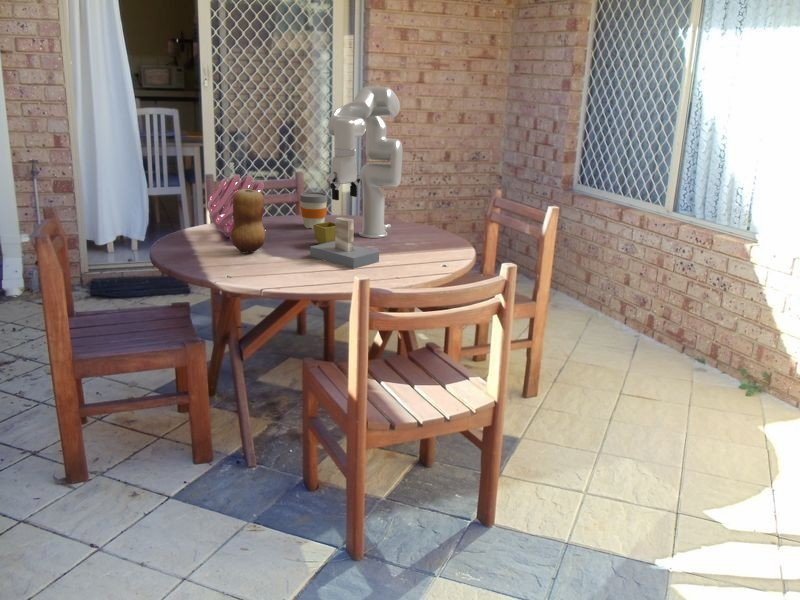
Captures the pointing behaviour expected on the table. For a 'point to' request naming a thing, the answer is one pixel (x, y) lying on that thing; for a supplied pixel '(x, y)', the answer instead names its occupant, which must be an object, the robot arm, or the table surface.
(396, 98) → the robot arm
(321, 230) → the flower pot
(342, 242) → the pine slat
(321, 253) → the grey slotted tile
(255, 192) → the butternut squash
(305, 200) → the reusable coffee cup
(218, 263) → the table surface
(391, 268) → the table surface
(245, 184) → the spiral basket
